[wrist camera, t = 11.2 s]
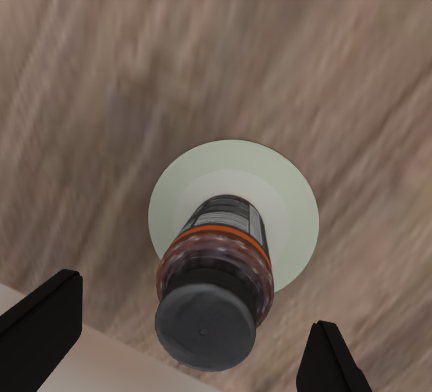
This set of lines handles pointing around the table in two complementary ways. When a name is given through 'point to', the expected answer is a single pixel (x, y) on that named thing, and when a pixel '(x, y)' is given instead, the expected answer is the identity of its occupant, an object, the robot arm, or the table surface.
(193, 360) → the supplement bottle
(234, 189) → the dish
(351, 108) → the table surface
